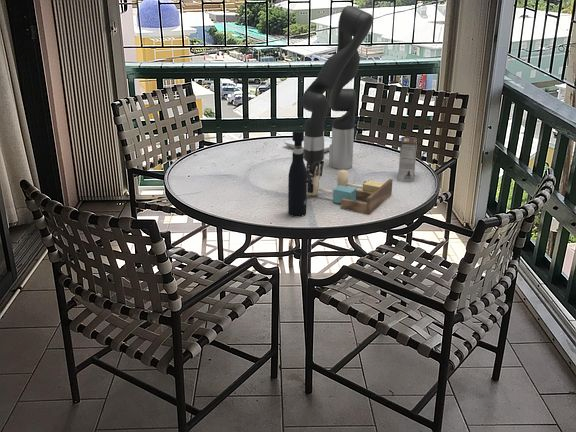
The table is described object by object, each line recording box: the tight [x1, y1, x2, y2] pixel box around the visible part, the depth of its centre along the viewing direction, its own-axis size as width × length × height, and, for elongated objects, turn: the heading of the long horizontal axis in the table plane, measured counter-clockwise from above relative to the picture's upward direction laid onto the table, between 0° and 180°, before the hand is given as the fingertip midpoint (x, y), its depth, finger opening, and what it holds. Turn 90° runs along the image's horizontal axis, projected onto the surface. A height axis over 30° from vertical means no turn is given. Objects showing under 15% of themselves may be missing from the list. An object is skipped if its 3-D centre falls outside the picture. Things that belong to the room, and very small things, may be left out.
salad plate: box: [283, 135, 332, 153], centre depth 292 cm, size 21×21×3 cm
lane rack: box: [340, 178, 393, 215], centre depth 231 cm, size 11×22×6 cm, turn 151°
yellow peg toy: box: [336, 169, 385, 193], centre depth 237 cm, size 18×5×8 cm, turn 61°
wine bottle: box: [287, 129, 308, 217], centre depth 215 cm, size 6×6×30 cm
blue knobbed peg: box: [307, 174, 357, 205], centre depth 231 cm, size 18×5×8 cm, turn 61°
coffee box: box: [397, 136, 418, 182], centre depth 252 cm, size 9×6×16 cm
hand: (312, 190), depth 235 cm, fingers closed on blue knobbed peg, 4 cm apart
